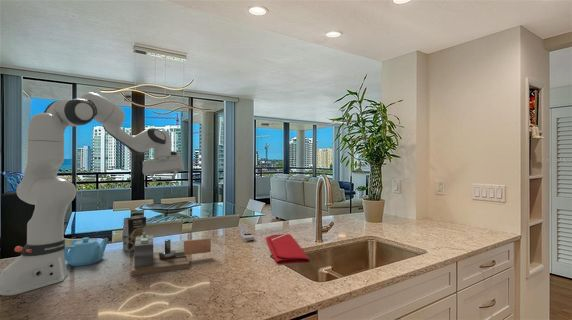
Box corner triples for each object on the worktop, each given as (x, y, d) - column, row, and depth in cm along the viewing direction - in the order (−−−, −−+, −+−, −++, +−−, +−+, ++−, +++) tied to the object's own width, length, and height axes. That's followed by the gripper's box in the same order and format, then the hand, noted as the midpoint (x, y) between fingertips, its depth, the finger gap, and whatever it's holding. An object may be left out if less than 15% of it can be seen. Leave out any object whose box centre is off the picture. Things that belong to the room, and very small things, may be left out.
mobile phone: (246, 223, 192) (255, 231, 168) (246, 232, 192) (255, 242, 168) (237, 223, 190) (244, 232, 166) (237, 233, 190) (244, 243, 166)
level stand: (189, 267, 127) (189, 235, 127) (131, 275, 118) (131, 241, 118) (183, 253, 147) (183, 225, 147) (133, 259, 138) (133, 229, 138)
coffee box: (128, 251, 149) (128, 219, 149) (122, 249, 153) (122, 217, 153) (146, 247, 156) (146, 216, 156) (140, 245, 160) (140, 215, 160)
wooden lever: (211, 253, 140) (211, 237, 140) (159, 259, 130) (159, 242, 130) (208, 249, 146) (208, 233, 146) (158, 255, 136) (158, 238, 136)
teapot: (72, 257, 139) (72, 234, 139) (108, 254, 144) (108, 232, 144) (58, 269, 125) (58, 243, 125) (99, 265, 129) (99, 240, 129)
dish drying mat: (276, 265, 132) (276, 257, 132) (265, 241, 172) (265, 234, 172) (310, 263, 135) (310, 255, 135) (291, 239, 175) (291, 233, 175)
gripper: (140, 156, 155) (140, 179, 148) (181, 151, 160) (183, 174, 153) (144, 162, 160) (143, 185, 154) (183, 158, 165) (185, 179, 158)
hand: (163, 179), depth 153 cm, fingers open, 8 cm apart
